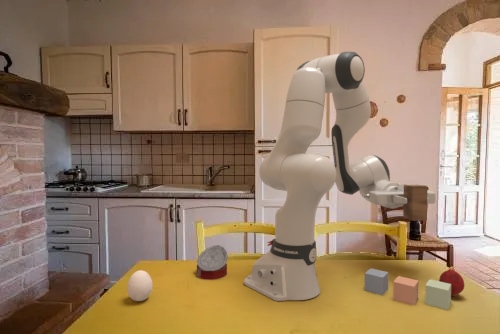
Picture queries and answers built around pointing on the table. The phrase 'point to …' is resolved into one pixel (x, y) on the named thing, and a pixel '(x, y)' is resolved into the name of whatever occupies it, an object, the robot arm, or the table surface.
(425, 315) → the table surface
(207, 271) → the canned food
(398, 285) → the cube terracotta
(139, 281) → the egg
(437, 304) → the cube sage
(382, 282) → the cube slate
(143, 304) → the table surface
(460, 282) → the pomegranate
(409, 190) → the block walnut
